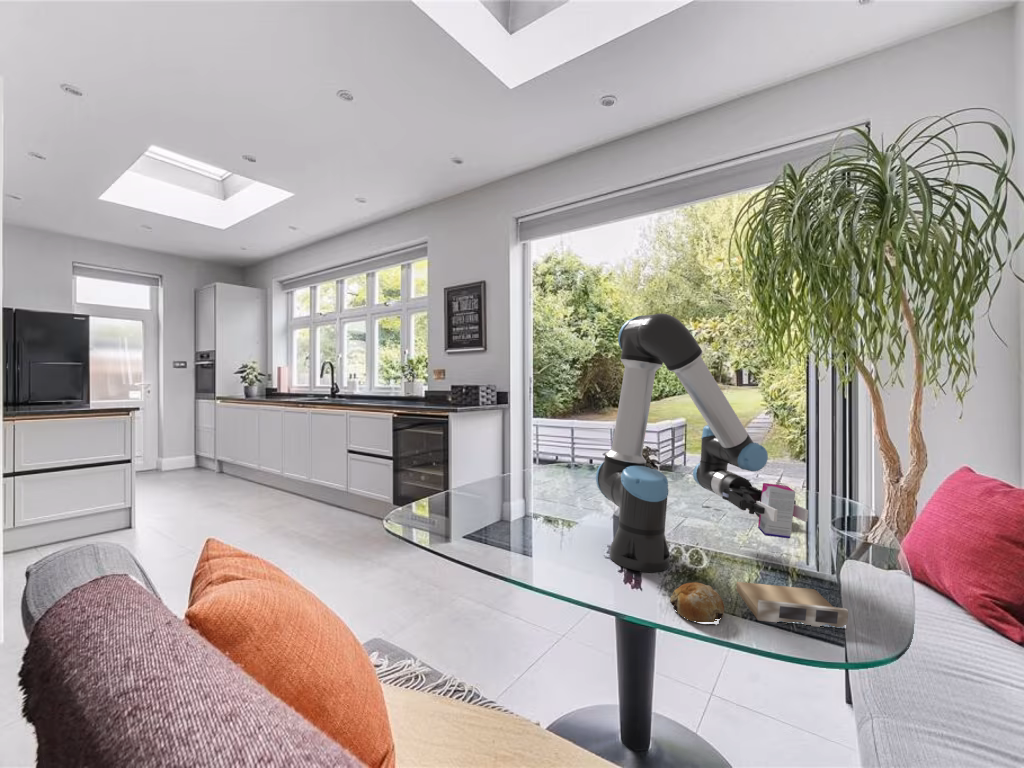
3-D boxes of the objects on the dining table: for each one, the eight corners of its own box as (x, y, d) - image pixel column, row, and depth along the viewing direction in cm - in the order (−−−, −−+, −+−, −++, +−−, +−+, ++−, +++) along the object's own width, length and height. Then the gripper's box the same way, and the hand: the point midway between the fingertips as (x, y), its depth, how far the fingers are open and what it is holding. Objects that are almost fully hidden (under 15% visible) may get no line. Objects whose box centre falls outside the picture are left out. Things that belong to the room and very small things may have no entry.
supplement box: (791, 539, 113) (796, 491, 112) (764, 535, 114) (768, 488, 113) (783, 530, 118) (787, 484, 118) (757, 527, 120) (761, 482, 119)
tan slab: (758, 621, 99) (760, 602, 98) (736, 590, 111) (737, 573, 111) (847, 630, 97) (848, 611, 96) (813, 597, 110) (815, 580, 109)
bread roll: (701, 646, 95) (722, 618, 92) (658, 606, 101) (676, 579, 98) (718, 626, 103) (738, 600, 100) (677, 590, 108) (695, 564, 106)
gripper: (763, 500, 135) (828, 531, 113) (697, 500, 132) (749, 531, 110) (766, 474, 135) (831, 500, 112) (699, 473, 132) (752, 499, 109)
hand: (791, 515), depth 111 cm, fingers closed on supplement box, 7 cm apart
